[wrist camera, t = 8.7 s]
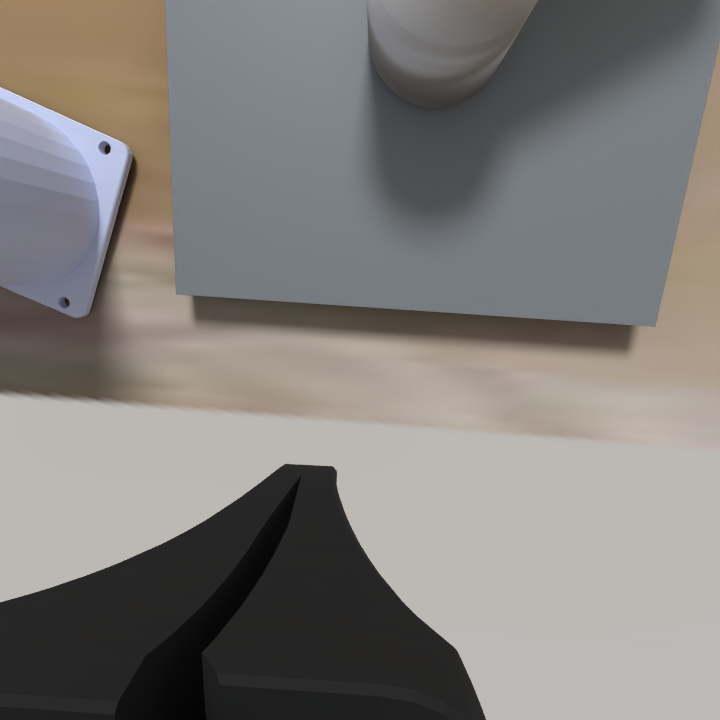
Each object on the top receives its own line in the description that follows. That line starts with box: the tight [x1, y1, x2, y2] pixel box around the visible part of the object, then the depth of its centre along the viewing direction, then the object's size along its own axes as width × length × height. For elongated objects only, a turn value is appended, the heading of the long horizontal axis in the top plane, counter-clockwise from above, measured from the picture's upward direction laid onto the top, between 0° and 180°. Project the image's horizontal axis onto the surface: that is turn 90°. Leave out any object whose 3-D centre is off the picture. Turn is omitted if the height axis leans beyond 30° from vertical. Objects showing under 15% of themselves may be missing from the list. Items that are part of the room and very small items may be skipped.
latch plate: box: [165, 0, 720, 327], centre depth 16 cm, size 20×20×2 cm
